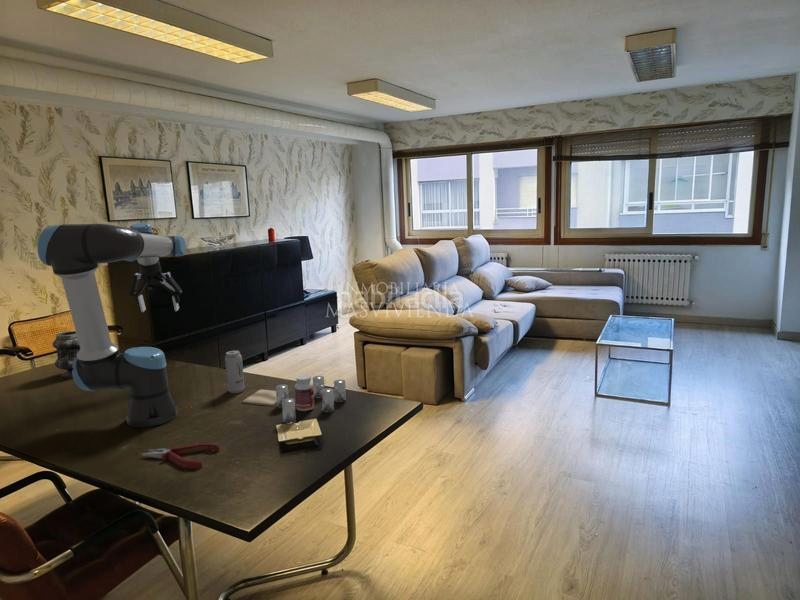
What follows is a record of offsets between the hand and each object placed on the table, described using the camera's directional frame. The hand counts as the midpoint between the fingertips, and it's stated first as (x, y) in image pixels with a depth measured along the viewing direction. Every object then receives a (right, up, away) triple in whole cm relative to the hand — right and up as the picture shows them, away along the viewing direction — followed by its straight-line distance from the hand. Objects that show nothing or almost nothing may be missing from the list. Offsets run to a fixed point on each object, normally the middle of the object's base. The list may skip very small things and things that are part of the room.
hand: (160, 310), depth 213 cm
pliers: (+38, -40, -68) cm, 87 cm away
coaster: (+51, -31, -27) cm, 65 cm away
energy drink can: (+37, -30, -19) cm, 52 cm away
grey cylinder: (+78, -31, -31) cm, 89 cm away
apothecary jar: (-39, -27, +5) cm, 48 cm away
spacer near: (+63, -35, -48) cm, 86 cm away
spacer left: (+58, -32, -35) cm, 75 cm away
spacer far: (+70, -30, -27) cm, 80 cm away
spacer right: (+75, -33, -40) cm, 90 cm away
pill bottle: (+66, -33, -37) cm, 83 cm away
